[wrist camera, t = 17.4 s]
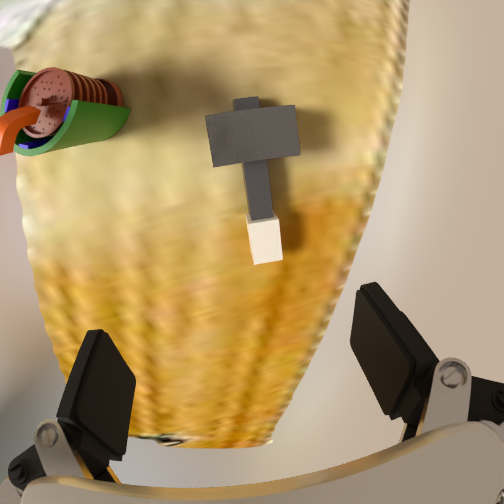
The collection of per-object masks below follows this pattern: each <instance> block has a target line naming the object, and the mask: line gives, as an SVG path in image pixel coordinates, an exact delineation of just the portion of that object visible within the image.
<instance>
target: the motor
mask: <svg viewBox="0 0 504 504" xmlns="http://www.w3.org/2000/svg"><path fill="white" fill-rule="evenodd" d="M130 110H131V109H130V108H125V107H123V96H122V93H121V91H120V89H119V88H118V87H117V86H116V85H115V84H114V83H112V82H109V81H107V80H104V79H93V78H90V77H86V76H83V75H80V74H77V73H73V72H70V71H66V70H62V69H59V68H55V67H51V68H46V69H43V70H41V71H39V72H38V73H34V72H28V71H22V70H17V71H16V72H15V73H14V75H13V76H12V78H11V79H10V81H9V83H8V86H7V88H6V90H5V93H4V96H3V99H2V104H1V111H0V155H4V154H8V153H11V152H13V150H14V151H15V152H17V153H18V154H21V155H24V156H35V155H39V154H43V153H47V152H51V151H55V150H59V149H63V148H68V147H72V146H77V145H82V144H87V143H93V142H98V141H103V140H106V139H108V138H110V137H111V136H113V135H114V134H116V133H117V132H118V131H119V130H120V129H121V128H122V126H123V125H124V124H125V122H126V120H127V118H128V116H129V113H130Z"/></svg>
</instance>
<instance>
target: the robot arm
mask: <svg viewBox="0 0 504 504" xmlns="http://www.w3.org/2000/svg"><path fill="white" fill-rule="evenodd" d="M350 345H351V348H352V350H353V352H354V354H355V356H356V358H357V360H358V362H359V364H360V366H361V368H362V370H363V372H364V374H365V376H366V378H367V380H368V382H369V384H370V386H371V388H372V390H373V392H374V394H375V396H376V398H377V400H378V402H379V405H380V407H381V409H382V411H383V413H384V414H385V415H389V416H390V418H391V420H394V419H396V418H399V417H402V419H403V421H404V423H405V425H404V428H403V431H402V434H401V437H400V440H399V443H398V444H397V445H395V446H392V447H390V448H387V449H385V450H382V451H379V452H377V453H374V454H371V455H369V456H366V457H363V458H360V459H357V460H354V461H351V462H348V463H346V464H342V465H339V466H335V467H332V468H328V469H325V470H321V471H317V472H313V473H309V474H305V475H300V476H296V477H291V478H286V479H281V480H275V481H269V482H262V483H256V484H247V485H238V486H226V487H209V488H165V487H164V488H163V487H148V486H137V485H128V484H122V483H121V482H120V481H119V479H118V478H117V476H116V475H115V474H114V472H113V470H112V469H111V468H110V466H109V460H114V461H122V455H124V454H125V453H126V447H127V438H128V431H129V424H130V417H131V410H132V404H133V398H134V392H135V386H136V379H135V376H134V374H133V373H132V371H131V370H130V368H129V367H128V365H127V364H126V362H125V361H124V359H123V357H122V356H121V354H120V353H119V351H118V349H117V348H116V346H115V344H114V343H113V341H112V339H111V338H110V336H109V335H108V333H105V332H104V331H103V330H102V329H98V330H89V331H88V332H87V333H86V335H85V338H84V340H83V343H82V345H81V347H80V350H79V352H78V355H77V357H76V360H75V363H74V365H73V368H72V370H71V373H70V376H69V379H68V381H67V384H66V387H65V390H64V393H63V396H62V399H61V402H60V405H59V408H58V412H57V415H56V417H57V418H58V421H57V422H56V421H55V420H52V419H50V420H45V421H42V422H41V423H40V424H39V425H38V426H37V428H36V430H35V432H34V443H35V444H34V445H33V446H31V447H30V448H28V449H27V450H26V451H25V452H23V453H22V454H20V455H19V456H17V457H16V458H14V459H13V460H12V461H11V463H10V465H9V468H8V476H9V479H8V478H7V477H6V478H5V480H4V481H3V482H2V484H1V485H0V504H504V383H499V382H494V381H490V380H486V379H482V378H478V377H474V376H471V371H470V369H469V367H468V366H467V365H466V363H465V362H463V361H461V360H460V359H457V358H446V359H443V360H442V361H439V360H438V358H437V357H436V356H435V354H434V353H433V351H432V350H431V348H430V347H429V346H428V344H427V343H426V342H425V340H424V339H423V338H422V336H421V335H420V334H419V332H418V331H417V330H416V328H415V327H414V326H413V324H412V323H411V322H410V321H409V319H408V318H407V317H406V315H405V314H404V313H403V312H402V311H400V310H399V309H398V308H397V307H396V306H395V304H394V303H393V302H392V300H391V299H390V298H389V296H388V295H387V294H386V293H385V292H384V290H383V289H382V288H381V287H380V285H379V284H378V283H376V282H372V283H369V284H364V285H361V287H360V290H357V292H356V299H355V307H354V316H353V323H352V330H351V337H350Z"/></svg>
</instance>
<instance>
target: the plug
mask: <svg viewBox="0 0 504 504" xmlns="http://www.w3.org/2000/svg"><path fill="white" fill-rule="evenodd" d="M232 102H233V109H234V111H238V110H246V109H254V108H260V105H259V98H258V96H256V97H248V98H240V99H233V101H232ZM242 169H243V176H244V183H245V190H246V197H247V204H248V210H249V214H246V221H247V228H248V234H249V241H250V247H251V253H252V257H253V261H254V265H255V264H261V263H267V262H272V261H278V260H283V257H282V247H281V236H280V226H279V219H278V217H277V215H276V214H275V212H274V211H273V208H272V199H271V190H270V182H269V174H268V166H267V159H264V160H257V161H250V162H243V163H242Z"/></svg>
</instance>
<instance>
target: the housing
mask: <svg viewBox="0 0 504 504" xmlns="http://www.w3.org/2000/svg"><path fill="white" fill-rule="evenodd" d="M205 119H206V125H207V131H208V138H209V144H210V150H211V156H212V162H213V167H219V166H224V165H230V164H237V163H243V162H250V161H257V160H264V159H272V158H280V157H288V156H297V155H300V146H299V137H298V128H297V119H296V111H295V105H285V106H273V107H263V108H254V109H246V110H238V111H231V112H225V113H219V114H213V115H207V116H205Z"/></svg>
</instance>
